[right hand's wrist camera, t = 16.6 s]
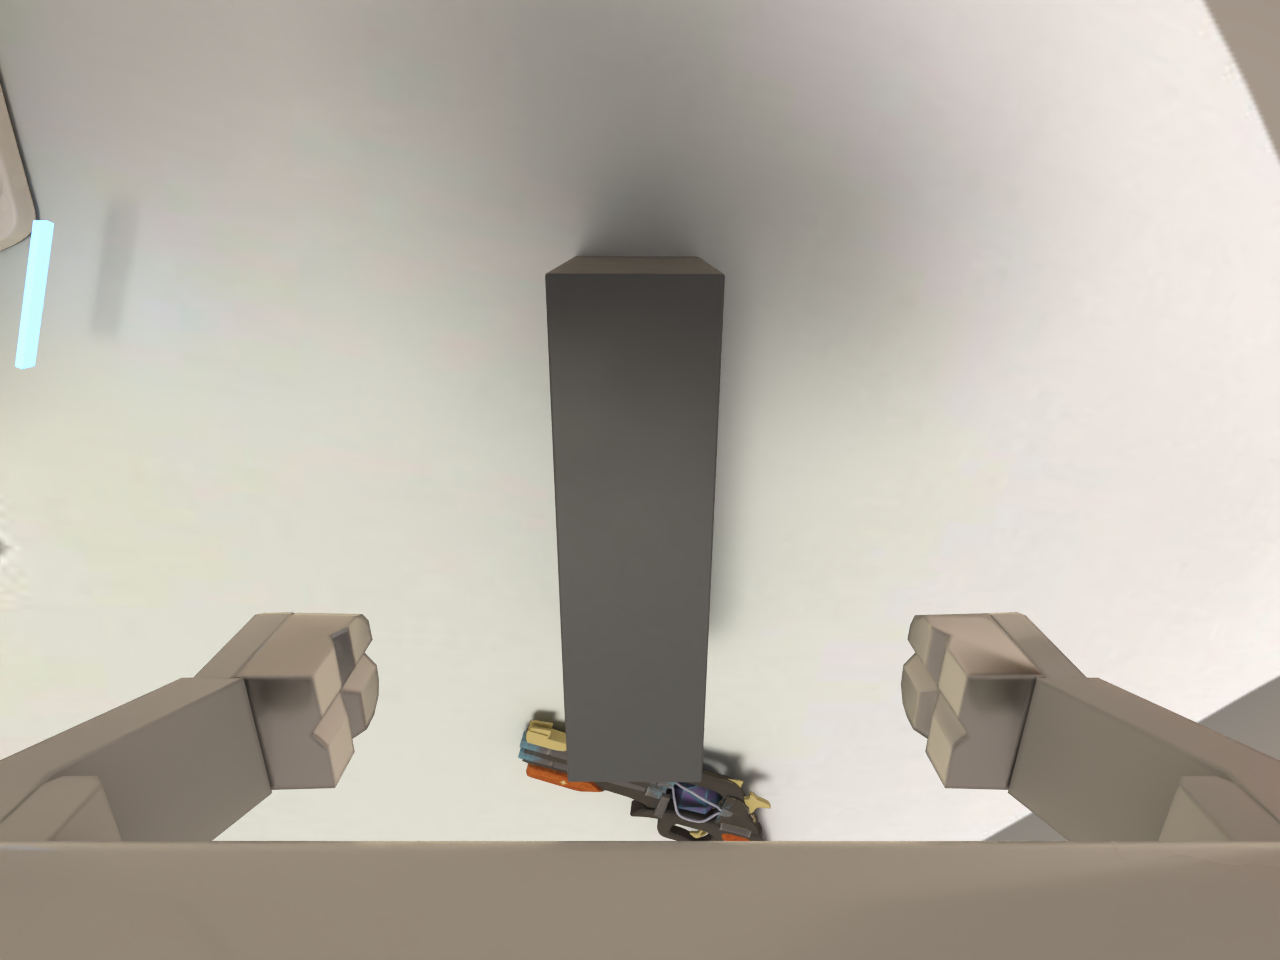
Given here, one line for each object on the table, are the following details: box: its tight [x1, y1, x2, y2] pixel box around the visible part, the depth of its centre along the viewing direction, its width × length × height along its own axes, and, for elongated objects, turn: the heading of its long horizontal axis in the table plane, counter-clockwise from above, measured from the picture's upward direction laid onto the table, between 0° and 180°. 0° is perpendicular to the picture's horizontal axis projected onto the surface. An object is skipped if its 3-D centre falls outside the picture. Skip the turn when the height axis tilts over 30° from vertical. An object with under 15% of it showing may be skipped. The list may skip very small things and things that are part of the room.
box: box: [545, 256, 725, 782], centre depth 32 cm, size 22×6×11 cm, turn 0°
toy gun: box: [518, 720, 771, 841], centre depth 44 cm, size 3×19×10 cm
